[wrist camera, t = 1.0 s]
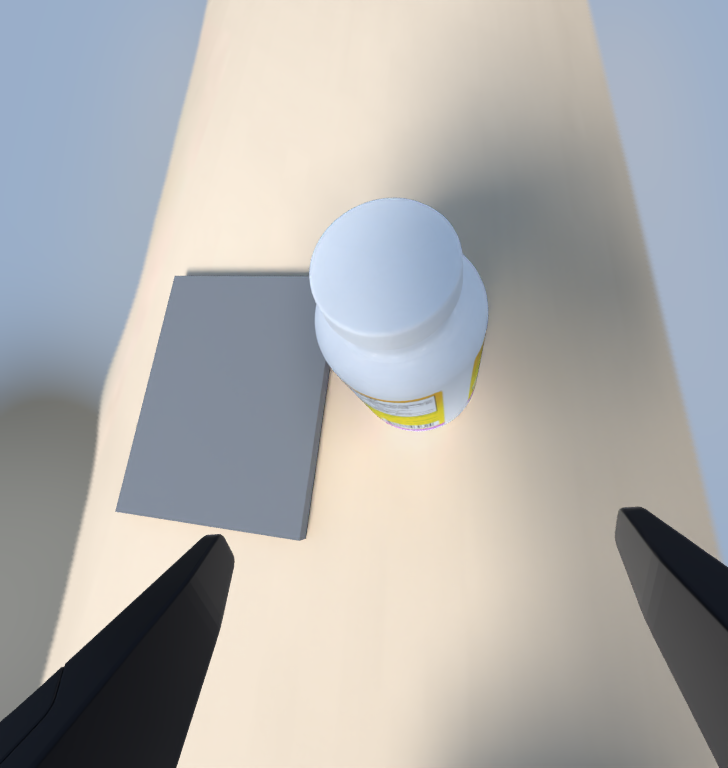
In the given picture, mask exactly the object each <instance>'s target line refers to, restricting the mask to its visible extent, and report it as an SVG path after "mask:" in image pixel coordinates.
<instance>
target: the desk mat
mask: <svg viewBox="0 0 728 768" xmlns="http://www.w3.org/2000/svg"><path fill="white" fill-rule="evenodd" d="M315 309H316V302H315V299H314V297H313V294H312V291H311V286H310V279H309V276H175V277H174V281H173V285H172V289H171V293H170V297H169V301H168V305H167V309H166V313H165V317H164V321H163V325H162V329H161V333H160V337H159V341H158V345H157V349H156V353H155V357H154V361H153V365H152V369H151V372H150V376H149V380H148V384H147V388H146V392H145V396H144V400H143V404H142V408H141V412H140V416H139V420H138V424H137V428H136V432H135V436H134V440H133V444H132V448H131V452H130V456H129V460H128V464H127V468H126V472H125V476H124V480H123V483H122V487H121V491H120V495H119V499H118V503H117V507H116V511H115V512H121V513H128V514H134V515H140V516H147V517H153V518H159V519H166V520H172V521H178V522H185V523H191V524H197V525H204V526H210V527H216V528H223V529H229V530H235V531H242V532H248V533H254V534H261V535H267V536H273V537H279V538H286V539H292V540H298V541H300V540H303V539H306V532H307V525H308V518H309V511H310V504H311V496H312V489H313V482H314V475H315V468H316V461H317V454H318V447H319V440H320V433H321V426H322V419H323V412H324V405H325V398H326V391H327V384H328V377H329V370H330V366H329V364H328V363H327V361H326V360H325V358H324V356H323V354H322V352H321V349H320V347H319V344H318V341H317V337H316V331H315Z"/></svg>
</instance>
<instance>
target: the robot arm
mask: <svg viewBox="0 0 728 768" xmlns="http://www.w3.org/2000/svg"><path fill="white" fill-rule="evenodd" d="M615 541H616V545H617V548H618V550H619V553H620V556H621V558H622V561H623V564H624V566H625V569H626V571H627V574H628V577H629V579H630V582H631V585H632V587H633V590H634V592H635V595H636V598H637V600H638V603H639V606H640V608H641V611H642V613H643V616H644V618H645V620H646V623H647V625H648V627H649V629H650V631H651V633H652V635H653V637H654V639H655V641H656V643H657V645H658V647H659V649H660V651H661V653H662V655H663V657H664V659H665V661H666V663H667V665H668V667H669V669H670V671H671V673H672V675H673V677H674V679H675V681H676V683H677V685H678V687H679V689H680V691H681V692H682V694H683V696H684V698H685V700H686V702H687V704H688V706H689V708H690V710H691V712H692V714H693V716H694V718H695V720H696V722H697V724H698V726H699V728H700V730H701V732H702V734H703V736H704V738H705V740H706V742H707V744H708V746H709V748H710V750H711V752H712V754H713V756H714V758H715V760H716V762H717V764H718V766H719V768H728V567H727V566H725V565H724V564H722V563H721V562H720V561H718V560H717V559H715V558H714V557H713V556H711V555H710V554H708V553H707V552H705V551H704V550H703V549H701V548H700V547H698V546H697V545H696V544H694V543H693V542H691V541H690V540H689V539H687V538H686V537H684V536H683V535H681V534H680V533H679V532H677V531H676V530H674V529H673V528H672V527H670V526H669V525H667V524H666V523H664V522H663V521H662V520H660V519H659V518H657V517H656V516H655V515H653V514H652V513H650V512H649V511H648V510H646V509H644V508H642V507H625V508H621V509H620V510H619V511H618V516H617V523H616V530H615ZM233 569H234V555H233V553H232V551H231V549H230V547H229V546H228V544H227V542H226V540H225V538H224V536H222V535H221V534H214V535H206V536H204V537H203V538H201V539H200V540H199V541H198V542H197V543H196V544H195V545H194V546H193V547H192V548H191V549H189V550H188V551H187V552H186V553H185V554H184V555H183V556H182V557H181V558H180V559H179V560H178V561H176V562H175V563H174V564H173V565H172V566H171V567H170V568H169V569H168V570H167V571H166V572H165V573H163V574H162V575H161V576H160V577H159V578H158V579H157V580H156V581H155V582H154V583H153V584H151V585H150V586H149V587H148V588H147V589H146V590H145V591H144V592H143V593H142V594H141V595H140V596H138V597H137V598H136V599H135V600H134V601H133V602H132V603H131V604H130V605H129V606H128V607H126V608H125V609H124V610H123V611H122V612H121V613H120V614H119V615H118V616H117V617H116V618H115V619H113V620H112V621H111V622H110V623H109V624H108V625H107V626H106V627H105V628H104V629H103V630H102V631H100V632H99V633H98V634H97V635H96V636H95V637H94V638H93V639H92V640H91V641H90V642H88V643H87V644H86V645H85V646H84V647H83V648H82V649H81V650H80V651H79V652H78V653H76V654H75V655H74V656H73V657H72V658H71V659H70V660H69V661H68V662H67V663H66V664H65V666H64V667H61V668H60V669H59V670H58V671H57V672H56V673H55V674H54V675H52V676H51V677H50V678H49V679H48V680H47V681H46V682H45V683H44V684H43V685H42V686H40V687H39V688H38V689H37V690H36V691H35V692H34V693H33V694H32V695H30V696H29V697H28V698H27V699H26V700H25V701H24V702H23V703H21V704H20V705H19V706H18V707H17V708H16V709H15V710H14V711H12V712H11V713H10V714H9V715H8V716H7V717H5V718H4V719H3V720H2V721H1V722H0V768H176V767H177V764H178V761H179V758H180V754H181V751H182V748H183V745H184V742H185V739H186V736H187V732H188V729H189V726H190V723H191V720H192V717H193V714H194V710H195V707H196V704H197V701H198V698H199V695H200V692H201V688H202V685H203V682H204V679H205V676H206V673H207V670H208V666H209V663H210V660H211V657H212V654H213V651H214V648H215V644H216V641H217V638H218V635H219V631H220V628H221V624H222V619H223V615H224V610H225V606H226V601H227V597H228V592H229V587H230V583H231V578H232V573H233Z"/></svg>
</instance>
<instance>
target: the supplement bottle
mask: <svg viewBox="0 0 728 768" xmlns="http://www.w3.org/2000/svg"><path fill="white" fill-rule="evenodd" d="M309 279H310V286H311V291H312V294H313V297H314V299H315V302H316V309H315V331H316V337H317V341H318V344H319V347H320V349H321V352H322V354H323V356H324V358H325V360H326V361H327V363H328V364H329V366H330V367H331V368H332V370H333V371H334V372H335V373H336V374H337V375H338V376H339V377H340V379H341V380H342V381H343V382H344V383H345V384H346V385H347V386H348V387H349V388H350V389H351V390H352V391H353V392H354V393H355V394H356V395H357V396H358V397H359V398H360V399H361V400H362V401H363V402H364V403H365V404H366V405H367V406H368V407H369V408H370V409H371V410H372V411H373V412H374V413H375V414H376V415H377V416H378V417H379V418H380V419H382V420H383V421H385V422H386V423H388V424H390V425H392V426H394V427H397V428H399V429H403V430H408V431H427V430H432V429H436V428H438V427H441V426H443V425H445V424H447V423H449V422H451V421H452V420H453V419H455V418H456V417H457V416H458V415H459V414H460V413H461V412H462V411H463V410H464V408H465V407H466V406H467V404H468V402H469V401H470V399H471V396H472V394H473V391H474V388H475V384H476V379H477V374H478V369H479V364H480V359H481V354H482V349H483V344H484V339H485V335H486V330H487V323H488V301H487V295H486V291H485V287H484V284H483V282H482V280H481V277H480V276H479V274H478V272H477V270H476V269H475V267H474V266H473V264H472V263H471V262H470V261H469V260H468V259H467V258H466V257H465V256H464V255H463V254H462V249H461V244H460V241H459V238H458V235H457V234H456V232H455V230H454V228H453V226H452V225H451V224H450V223H449V221H448V220H447V219H446V218H445V217H444V216H443V215H442V214H440V213H439V212H438V211H436V210H435V209H433V208H432V207H430V206H428V205H425V204H423V203H420V202H418V201H414V200H410V199H405V198H383V199H378V200H373V201H370V202H366V203H364V204H361V205H359V206H357V207H354V208H353V209H351V210H349V211H347V212H346V213H344V214H343V215H341V216H340V217H339V218H338V219H336V220H335V221H334V222H333V223H332V224H331V225H330V226H329V227H328V228H327V230H326V231H325V232H324V233H323V235H322V236H321V238H320V240H319V242H318V243H317V245H316V247H315V250H314V252H313V255H312V259H311V263H310V271H309Z"/></svg>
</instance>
